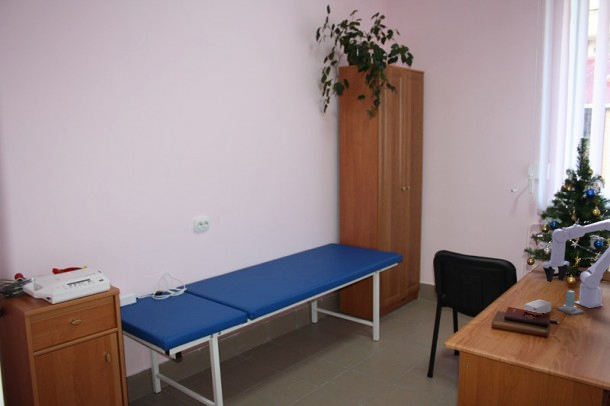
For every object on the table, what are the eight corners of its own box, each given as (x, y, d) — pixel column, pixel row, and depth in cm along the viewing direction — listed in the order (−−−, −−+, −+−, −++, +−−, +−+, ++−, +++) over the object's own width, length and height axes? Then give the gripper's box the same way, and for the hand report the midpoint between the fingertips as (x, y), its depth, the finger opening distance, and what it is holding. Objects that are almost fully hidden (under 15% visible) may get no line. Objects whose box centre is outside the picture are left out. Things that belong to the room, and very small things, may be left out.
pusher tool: (568, 306, 218) (570, 289, 217) (576, 309, 215) (577, 292, 214) (562, 307, 217) (563, 290, 216) (570, 310, 213) (571, 293, 212)
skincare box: (539, 307, 220) (523, 313, 214) (539, 298, 219) (523, 303, 213) (551, 311, 215) (535, 317, 209) (552, 302, 214) (536, 307, 208)
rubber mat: (569, 306, 221) (569, 305, 220) (584, 312, 213) (584, 311, 213) (556, 309, 218) (556, 307, 218) (571, 315, 210) (572, 313, 210)
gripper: (561, 250, 231) (558, 277, 233) (539, 252, 226) (537, 279, 228) (574, 254, 225) (571, 281, 226) (552, 256, 219) (549, 284, 221)
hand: (555, 280), depth 227 cm, fingers open, 7 cm apart
